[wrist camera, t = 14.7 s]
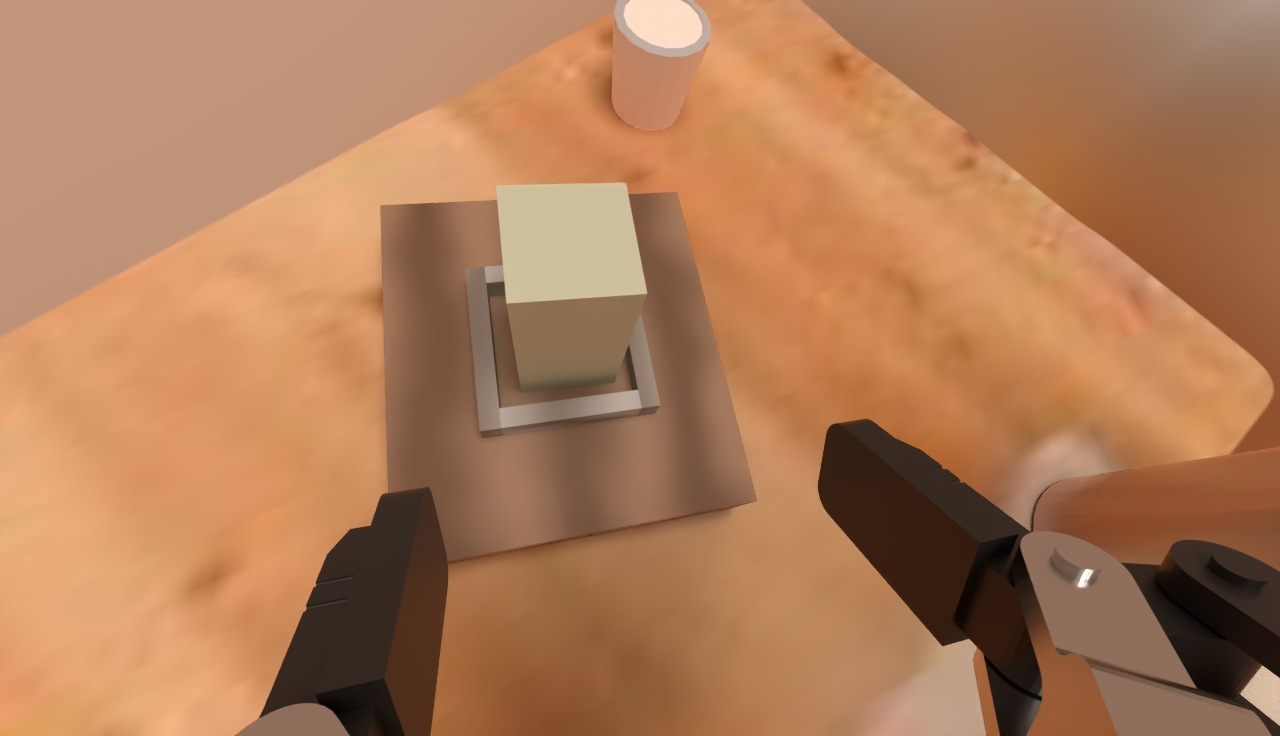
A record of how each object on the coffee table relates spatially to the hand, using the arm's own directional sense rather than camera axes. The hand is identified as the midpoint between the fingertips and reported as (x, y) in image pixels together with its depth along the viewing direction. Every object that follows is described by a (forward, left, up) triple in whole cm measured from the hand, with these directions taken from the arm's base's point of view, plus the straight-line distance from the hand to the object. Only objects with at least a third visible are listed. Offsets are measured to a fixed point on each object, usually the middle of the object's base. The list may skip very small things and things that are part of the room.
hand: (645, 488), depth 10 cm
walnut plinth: (0, -10, -20) cm, 22 cm away
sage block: (0, -10, -16) cm, 19 cm away
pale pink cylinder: (-10, -32, -20) cm, 39 cm away
